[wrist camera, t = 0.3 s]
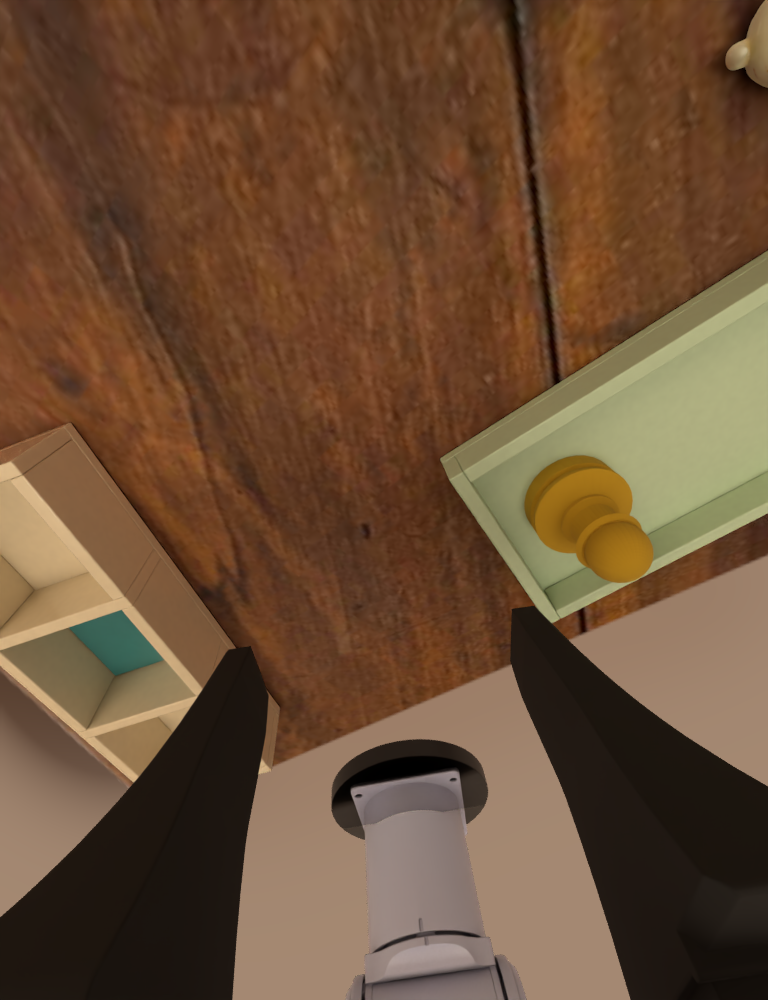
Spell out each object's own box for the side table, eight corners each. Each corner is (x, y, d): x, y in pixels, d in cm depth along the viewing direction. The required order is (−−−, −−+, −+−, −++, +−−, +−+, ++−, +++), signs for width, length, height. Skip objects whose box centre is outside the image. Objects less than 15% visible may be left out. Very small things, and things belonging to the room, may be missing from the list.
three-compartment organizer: (280, 707, 25) (272, 771, 22) (179, 738, 26) (157, 804, 23) (71, 421, 17) (10, 461, 14) (-73, 477, 17) (-162, 526, 14)
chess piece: (596, 539, 21) (663, 618, 16) (512, 533, 20) (559, 613, 16) (630, 459, 19) (716, 524, 14) (539, 450, 18) (600, 515, 14)
